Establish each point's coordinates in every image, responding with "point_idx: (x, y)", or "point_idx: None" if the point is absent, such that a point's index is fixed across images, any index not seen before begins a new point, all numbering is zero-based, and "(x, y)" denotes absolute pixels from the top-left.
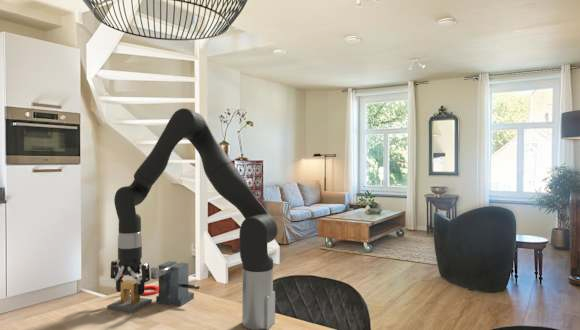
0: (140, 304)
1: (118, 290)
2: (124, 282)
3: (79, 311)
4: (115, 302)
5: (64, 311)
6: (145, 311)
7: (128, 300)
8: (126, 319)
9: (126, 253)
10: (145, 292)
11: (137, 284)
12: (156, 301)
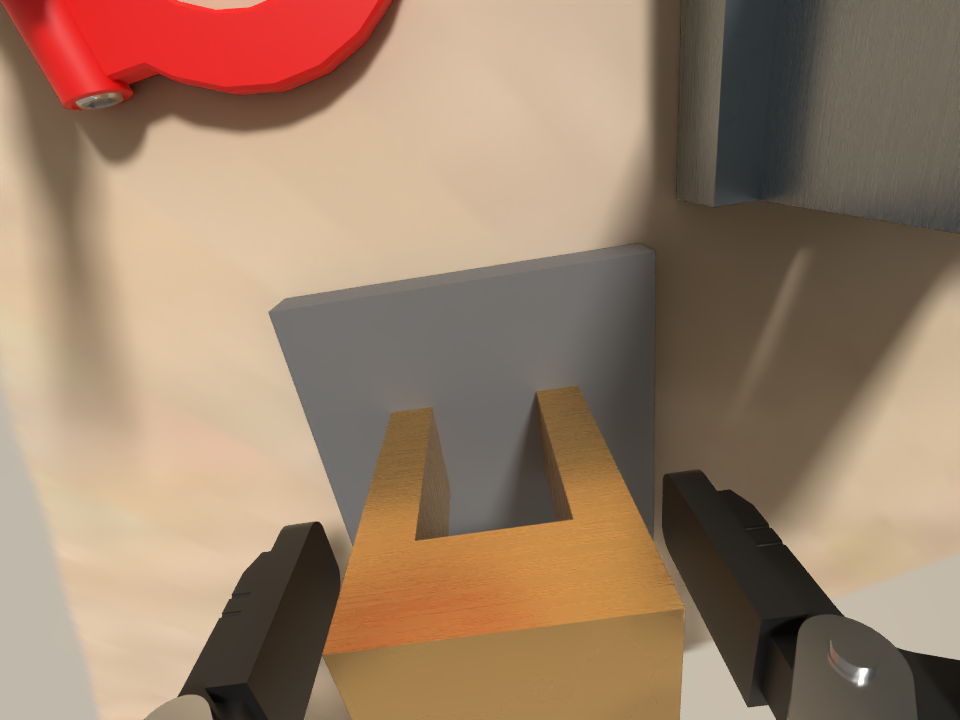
0: (636, 428)
1: (334, 600)
2: None
3: None
4: (352, 506)
5: (148, 691)
6: (725, 436)
7: (436, 431)
8: (680, 592)
9: None
10: (294, 19)
11: (748, 703)
12: (684, 198)
